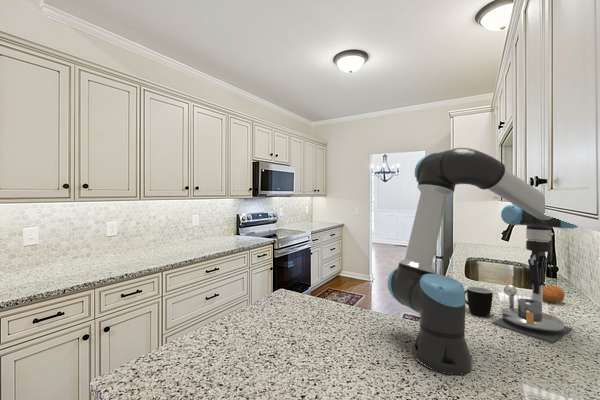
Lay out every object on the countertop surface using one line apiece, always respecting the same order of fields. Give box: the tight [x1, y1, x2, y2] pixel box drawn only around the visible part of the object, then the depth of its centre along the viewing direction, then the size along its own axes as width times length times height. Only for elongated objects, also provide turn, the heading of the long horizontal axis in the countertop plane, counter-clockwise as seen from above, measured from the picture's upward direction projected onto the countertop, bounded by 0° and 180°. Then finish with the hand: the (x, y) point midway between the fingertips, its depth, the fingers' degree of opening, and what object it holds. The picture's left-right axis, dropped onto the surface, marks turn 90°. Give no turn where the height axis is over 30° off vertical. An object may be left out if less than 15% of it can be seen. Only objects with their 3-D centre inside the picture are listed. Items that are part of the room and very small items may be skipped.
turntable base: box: [491, 317, 573, 344], centre depth 106 cm, size 20×18×2 cm
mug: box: [465, 286, 494, 318], centre depth 120 cm, size 12×9×10 cm
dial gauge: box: [503, 284, 518, 308], centre depth 120 cm, size 4×4×12 cm
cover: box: [517, 297, 543, 322], centre depth 106 cm, size 7×7×7 cm
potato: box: [543, 285, 565, 303], centre depth 135 cm, size 9×11×8 cm
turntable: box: [501, 307, 565, 332], centre depth 107 cm, size 18×18×6 cm
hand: (537, 301), depth 110 cm, fingers closed
